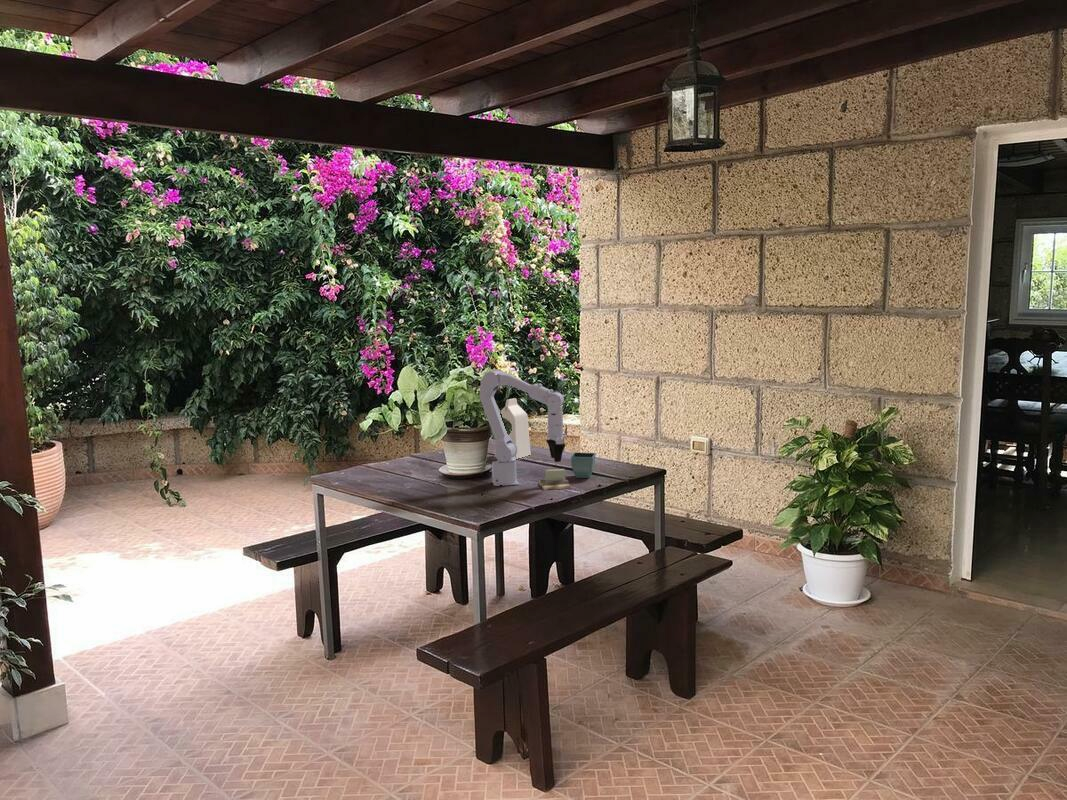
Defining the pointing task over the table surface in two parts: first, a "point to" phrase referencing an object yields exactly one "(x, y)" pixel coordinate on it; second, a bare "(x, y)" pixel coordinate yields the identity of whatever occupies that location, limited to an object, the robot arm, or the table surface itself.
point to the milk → (517, 427)
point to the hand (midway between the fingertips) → (555, 459)
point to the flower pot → (583, 464)
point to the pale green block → (555, 475)
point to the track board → (554, 484)
